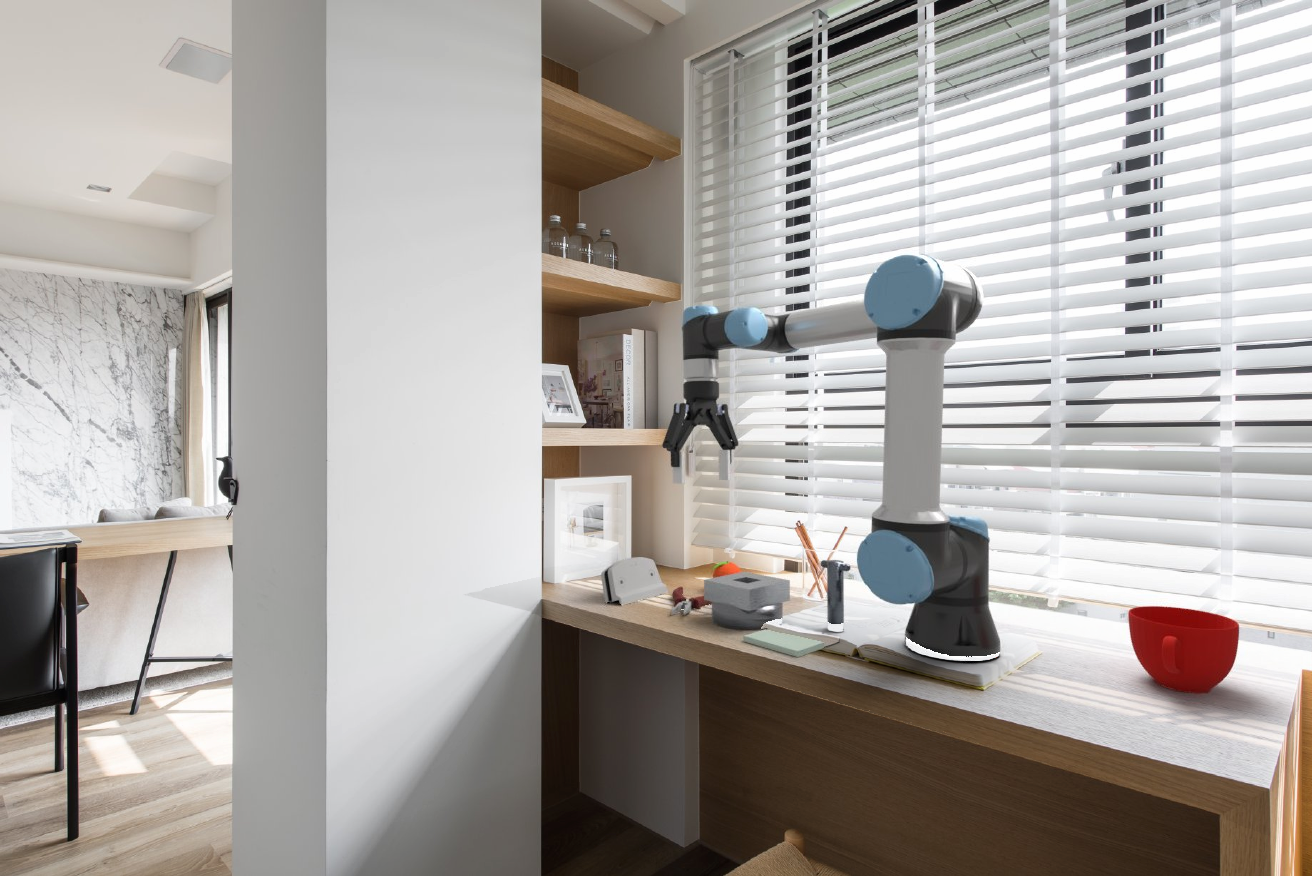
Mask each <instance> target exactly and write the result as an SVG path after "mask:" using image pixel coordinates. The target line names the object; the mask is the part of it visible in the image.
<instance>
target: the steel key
mask: <svg viewBox="0 0 1312 876" xmlns="http://www.w3.org/2000/svg"><path fill="white" fill-rule="evenodd" d="M819 565H820V566H821V568H824V569H826V578H827V579H826V584H827V585H826V589H827V590H826V592H827V593H826V595H827V596H826V598H827V599H826V601H827V604H826V609H827V613H826V615H827V622H829V623H831V624H841V623H844V624H845V614H844V613H845V611H844V609H845V608H844V607H845V605H844V603H845V599H844V598H845V597H844V593H845V592H844V591H845V590H844V586H845V585H844V583H845V582H844V580H845V579H844V578H845V577H844V576H845V575H844V572H849V571H850V570H851V569H852V568H851V567H852V566H851V565H850V564H849V563H844V561H843V560H839V559H829V560H824V559H822V560H821V561H820V564H819Z"/></svg>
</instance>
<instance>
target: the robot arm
mask: <svg viewBox="0 0 1312 876" xmlns="http://www.w3.org/2000/svg"><path fill="white" fill-rule="evenodd" d="M983 303H984V292H983V288H982V286H981V283H980V281H979V279H978V278H977V277H976V276H975V274H974V273H972V272H971V271H970V270H969V269H967V268H965V267H964V266H963V267H962V266H960V265H957V264H953V263H949V262H946V261H942V260H940V259H936V258H935V257H933V256H931V255H928V254H923V253H922V254H921V253H919V254H917V253H911V252H910V253H900V254H897V255H894V256H892V257H890V258H888V259H887V260H884V261H883V262H882V263H881V264H880V265H879V267H877V269H876V270H875V271H874V272H873V273H872V274H871V276H870V278H869V279H868V282H867V284H866V286H865V290H864V295H863V298H861V299H857V300H856V299H855V300H852V301H851V300H850V301H847V302H846V301H845V302H842V303H837V304H832V305H828V306H821V307H815V308H810V309H806V310H805V309H804V310H800V311H795V312H792V313H785V314H780V315H773V314H772V315H771V314H766V313H763V312H761V310H760V309H759V308H758V307H753V306H751V307H749V306H748V307H738V308H736V309H732V310H727V311H723V312H719V310H718V308H717V307H716V306H713V305H706V304H705V305H702V304H701V305H692V306H688V307H686V308H685V309H684V310H683V313H682V323H681V325H682V326H681V331H682V364H683V365H682V366H683V368H682V371H683V374H682V375H683V376H682V378H683V380H685V381H684V383H683V384H682V385H683V386H682V389H683V391H682V393H683V394H682V395H683V399H684V400H685V402H678V403H674V405H673V413H672V416H671V419H670V422H669V425H668V428H667V430H666V434H665V435H664V436H665V437H664V438H663V442H662V444H661V445H662V446H661V447H662V448H663V449H666V451H668V452H670V467H671V468H672V484H680V485H683V484H684V485H685V481H686V479H685V473H686V471H685V470H686V469H685V451H681V450H682V448H683V447H684V446H685V444H686V442H687V441H688V439H689V437H690V436H691V434H692V432H693V430H694V429H695V428H696V427H697V426H706V427H708V429H709V430H710V432H711V434H712V436H713V437H714V438H715V440H716V442H717V443H718V444H719V448H720V449H718V480H719V481H731V465H732V462H733V461H732V451H733V450H736V447H739V440H738V437H737V434H736V432H735V429H734V426H733V423H732V420H731V417H730V415H729V409H728V408H729V407H728V404H727V403H724V404H723V403H722V404H717V400H718V399H719V397H720V382H718V381H717V380H718V379H719V378H720V366H719V365H720V363H719V361H720V359H719V355H720V354H719V351H723V350H731V349H742V350H750V351H761V352H762V351H764V352H772V353H777V354H792V353H796V352H797V351H799V350H800V349H806V348H814V347H820V346H825V345H826V346H827V345H835V344H842V343H849V342H857V341H863V340H865V341H866V340H872V339H876V345H877V346H878V347H879V349H880V350H882V351H883V352H884V353H885V356H886V360H885V389H884V390H885V394H884V395H885V398H884V426H883V427H884V428H883V431H884V432H883V434H884V435H883V463H882V465H883V466H882V469H883V470H882V497H881V498H882V499H881V501H882V502H881V505H880V506H878V508H876V509H875V510H874V511H873V512H872V514H871V532H870V533H869V534H867V536H866V537H865V538H864V539H863V540H862V541H861V543H860V544H859V546H858V549H857V553H856V565H857V570H858V574H859V575H860V578H861V580H862V581H863V583H864V585H865V586H867V587H868V588H869V590H870V592H871V593H872V594H873V595H874V596H875V597H877V598H878V599H880V600H882V601H883V602H886V603H889V604H891V605H892V604H893V605H899V606H900V605H908V604H910V605H911V604H913V607H912V609H911V612H910V616H909V619H908V622H907V624H906V627H905V631H904V637H905V636H906V637H907V638H908V639H910V640H911V641H912V642H915V643H916V644H919V645H920V646H922V647H924V648H926V649H930V650H932V651H934V652H938V653H941V654H947V655H949V656H966V657H967V656H968V657H969V656H971V657H972V656H987V655H991V654H996V653H998V652H1000V651H1001V639H1000V636H999V633H998V630H997V627H996V624H995V621H994V618H993V616H992V613H991V610H990V606H989V605H990V604H989V603H990V602H989V601H990V599H989V593H990V591H989V590H990V589H989V587H990V586H989V584H990V583H989V582H990V581H989V580H990V578H989V577H990V574H989V572H990V570H989V568H990V564H989V563H990V556H989V555H990V546H989V545H990V540H991V539H990V537H989V527H988V524H987V522H986V521H985V519H982V518H980V517H971V516H960V515H950V514H949V515H947V514H946V513H945V512H944V511H943V510H942V509H941V506H940V503H941V502H940V501H941V497H940V496H941V473H942V472H941V471H942V470H941V469H942V466H941V464H942V441H943V439H942V438H943V414H944V413H943V410H944V409H943V408H944V382H945V380H944V379H945V355H946V353H947V352H948V351H949V350H950V349H951V348H952V347H953V346H954V345H955V344H956V340H957V339H956V335H957V334H959V333H961V332H964V331H966V329H968V328H970V326H971V325H972V324H974V323H975V321H976V320H977V318H978V317H979V315H980V313H981V311H982V309H983Z"/></svg>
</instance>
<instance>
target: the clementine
mask: <svg viewBox="0 0 1312 876" xmlns="http://www.w3.org/2000/svg"><path fill="white" fill-rule="evenodd" d="M740 572H742V570H741V568H740V567H739V566H738V565H737V564H736V563H734V562H729V561H725V562H720V563H717V564H716V565H715V566H713V568H712V570H711V572H710V573H711V575H712V578H716V577H721V576H725V575H730V574H735V573H740Z"/></svg>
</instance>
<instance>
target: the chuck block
mask: <svg viewBox="0 0 1312 876" xmlns="http://www.w3.org/2000/svg"><path fill="white" fill-rule="evenodd" d="M790 581H791V580H790V579H789V580H788V579H785V578H779V577H774V576H769V575H763V574H758V573H753V572H748V571H741V572H740V573H735V574H730V575H725V576H721V577H716V578H713V577H711V578H706V579H703V587H704V589H703V593H704V594H703V596H704V600H707V601H711V602H712V604H711V622H712V623H713V622H714V624H715V625H716V626H719V627H721V628H726V629H732V630H741V631H761V630H760V629H761V627H762V626H763V624H764V623H766V622H768V621H772V620H775V619H781V618H783V616H784V615H783V613H784V612H783V609H784V608H783V606H784V605H783V603H786V602H790V601H791V594H790V593H791V584H790V583H791V582H790Z"/></svg>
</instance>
